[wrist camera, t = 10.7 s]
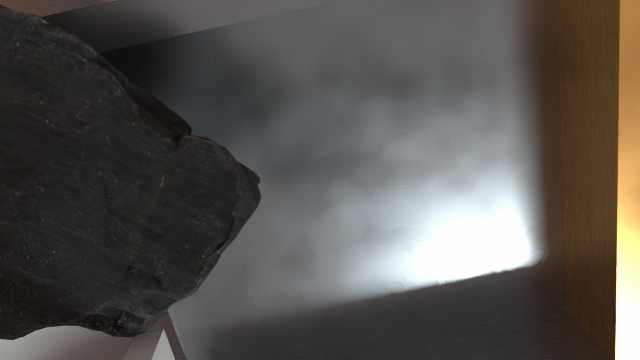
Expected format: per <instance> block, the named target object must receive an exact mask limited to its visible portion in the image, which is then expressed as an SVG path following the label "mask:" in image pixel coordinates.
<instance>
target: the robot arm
mask: <svg viewBox="0 0 640 360" xmlns="http://www.w3.org/2000/svg"><path fill="white" fill-rule="evenodd" d="M122 360H175V358H174V355H173V353H172V350H171V347H170V344H169V342H168V339H167V336H166V334H165V331H164V329H160V330H155V331H151V332H146V333H141V334H139V335H137V336H133V338H132V341H131V343H130V345H129V347H128V349H127V351H126V353H125V355H124V357H123V359H122Z"/></svg>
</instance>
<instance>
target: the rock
mask: <svg viewBox="0 0 640 360" xmlns="http://www.w3.org/2000/svg"><path fill="white" fill-rule="evenodd" d="M191 131H192V128H191V127H190V125H189V124H188V123H187V122H186V121H185V120H184V119H183V118H182V117H180V116H179V115H178V114H176V113H175V112H174V111H172V110H171V109H170V108H168V107H167V106H166V105H165V104H163V103H162V102H161V101H159V100H158V99H157V98H156V97H154V96H153V95H152V94H150V93H148V92H147V91H145V90H143V89H141V88H139V87H137V86H135V85H134V84H133V83H132V82H131V81H130V80H129V79H128V78H127V77H126V76H125V75H123V74H122V73H121V72H119V71H118V70H116V69H115V68H113V67H112V66H111V65H110V64H109V63H108V62H107V61H106V60H105V59H104V58H103V57H102V56H101V55H100V54H99V53H97V52H96V51H95V50H94V49H93V48H91V47H90V46H89V45H88V44H87V43H86V42H85V41H84V40H83V39H82V38H80V37H78V36H77V35H75V34H73V33H71V32H69V31H67V30H66V29H64V28H62V27H59V26H56V25H54V24H52V23H50V22H49V21H47V20H45V19H44V18H42V17H39V16H36V15H32V14H29V13H23V12H17V11H13V10H11V9H9V8H7V7H4V6H2V5H0V339H7V340H14V339H17V338H20V337H24V336H26V335H28V334H30V333H32V332H33V331H36V330H39V329H43V328H46V327H55V326H64V325H67V326H81V327H84V328H87V329H91V330H96V331H102V332H104V333H107V334H109V335H111V336H116V337H133V336H137V335H139V334H141V333H144V332H145V331H147V330H148V329H149V328H150V327H151V326H152V325H153V324H154V323H156V322H157V321H158V320H159V319H160V318H161V317H162V316H163V315H164V314H165V312H166V311H167V310H168V309H169V307H170V306H171V305H172V304H174V303H176V302H178V301H180V300H184V299H187V298H188V297H189V296H191V295H192V294H193V293H195V292H196V291H197V290H198V288H199V287H200V286H201V284H202V283H203V282H204V280H205V279H206V278H207V276H208V275H209V273H210V272H211V271H212V269H213V268H214V267H215V265H216V264H217V262H218V260H219V258H220V256H221V254H222V253H223V252H224V250H225V249H226V248H227V247H228V246H229V245H230V244H231V243H232V242H233V241H234V240H235V238H236V237H237V235H238V234H239V232H240V231H241V229H242V228H243V226H244V225H245V224H246V222H247V221H248V220H249V218H250V217H251V216H252V214H253V213H254V212H255V210H256V209H257V207H258V205H259V203H260V200H261V194H260V191H259V188H258V184H259V183H260V177H259V176H258V175H257V174H256V173H255V172H254V171H252V170H251V169H249V168H248V167H246V166H245V165H243V164H242V163H240V162H238V161H237V160H236V159H235V158H234V157H233V155H232V154H231V153H230V152H229V151H228V149H227V148H226V147H224V146H222V145H220V144H219V143H217V142H215V141H213V140H211V139H209V138H206V137H199V136H193V135H191Z"/></svg>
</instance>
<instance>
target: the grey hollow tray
mask: <svg viewBox="0 0 640 360" xmlns="http://www.w3.org/2000/svg"><path fill="white" fill-rule="evenodd" d="M42 18H44V19H45V20H47V21H49V22H50V23H52V24H54V25H56V26H59V27H62V28H64V29H66V30H67V31H69V32H71V33H73V34H75V35H77V36H78V37H80V38H82V39H83V40H84V41H85V42H86V43H87V44H88V45H89V46H90V47H91V48H93V49H94V50H95V51H96V52H97V53H99V54H100V55H101V56H102V57H103V58H104V59H105V60H106V61H107V62H108V63H109V64H110V65H111V66H112V67H113V68H115V69H116V70H118V71H119V72H121V73H122V74H123V75H125V76H126V77H127V78H128V79H129V80H130V81H131V82H132V83H133V84H134V85H135V86H137V87H139V88H141V89H143V90H145V91H147V92H148V93H150V94H152V95H153V96H154V97H156V98H157V99H158V100H159V101H161V102H162V103H163V104H165V105H166V106H167V107H168V108H170V109H171V110H172V111H174V112H175V113H176V114H178V115H179V116H180V117H182V118H183V119H184V120H185V121H186V122H187V123H188V124H189V125H190V127H191V128H192V131H191V135H193V136H199V137H206V138H209V139H211V140H213V141H215V142H217V143H219V144H220V145H222V146H224V147H226V148H227V149H228V151H229V152H230V153H231V154H232V155H233V157H234V158H235V159H236V160H237V161H238V162H240V163H242V164H243V165H245V166H246V167H248V168H249V169H251V170H252V171H254V172H255V173H256V174H257V175H258V176H259V177H260V183H259V184H258V188H259V191H260V194H261V200H260V203H259V205H258V207H257V209H256V210H255V212H254V213H253V214H252V216H251V217H250V218H249V220H248V221H247V222H246V224H245V225H244V226H243V228H242V229H241V231H240V232H239V234H238V235H237V237H236V238H235V240H234V241H233V242H232V243H231V244H230V245H229V246H228V247H227V248H226V249H225V250H224V252H223V253H222V254H221V256H220V258H219V260H218V262H217V264H216V265H215V267H214V268H213V269H212V271H211V272H210V273H209V275H208V276H207V278H206V279H205V280H204V282H203V283H202V284H201V286H200V287H199V288H198V290H197V291H196V292H195V293H193V294H192V295H191V296H189V297H188V298H187V299H184V300H180V301H178V302H176V303H174V304H172V305H171V306H170V307H169V309H168V312H169V315H170V318H171V321H172V323H173V326H174V329H175V331H176V334H177V337H178V339H179V342H180V345H181V347H182V350H183V353H184V355H185V358H186V360H640V0H117V1H112V2H108V3H103V4H99V5H94V6H89V7H85V8H80V9H76V10H71V11H67V12H62V13H57V14H53V15H48V16H44V17H42Z"/></svg>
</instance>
